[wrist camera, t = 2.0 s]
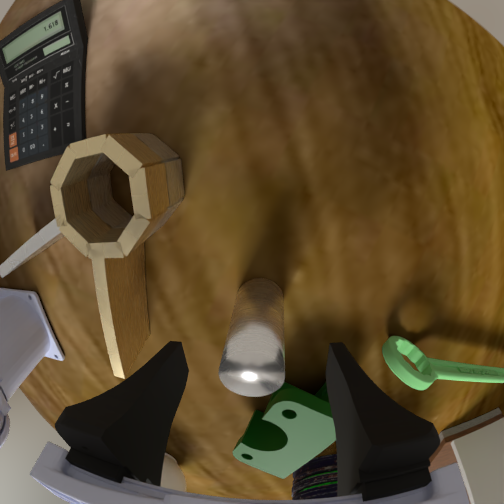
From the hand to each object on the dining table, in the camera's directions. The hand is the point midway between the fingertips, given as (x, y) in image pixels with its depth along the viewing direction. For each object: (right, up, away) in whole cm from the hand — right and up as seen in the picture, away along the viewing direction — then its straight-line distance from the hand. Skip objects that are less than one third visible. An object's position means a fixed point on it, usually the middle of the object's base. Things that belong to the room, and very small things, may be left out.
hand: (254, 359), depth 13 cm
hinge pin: (0, +2, +5) cm, 6 cm away
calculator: (-16, +18, +1) cm, 24 cm away
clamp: (+3, -8, +10) cm, 13 cm away
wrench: (+21, -5, +7) cm, 22 cm away
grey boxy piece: (+30, -22, +13) cm, 39 cm away
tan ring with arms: (-11, +5, +5) cm, 13 cm away
